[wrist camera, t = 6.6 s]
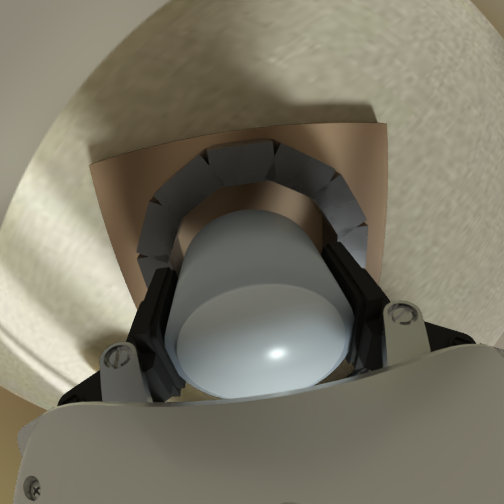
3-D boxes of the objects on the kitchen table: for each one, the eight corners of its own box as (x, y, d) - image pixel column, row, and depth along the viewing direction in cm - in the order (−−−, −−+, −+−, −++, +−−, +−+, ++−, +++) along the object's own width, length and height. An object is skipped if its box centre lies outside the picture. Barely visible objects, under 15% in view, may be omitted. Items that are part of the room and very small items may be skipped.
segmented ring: (346, 132, 12) (368, 136, 10) (344, 305, 18) (356, 330, 15) (131, 162, 12) (111, 172, 10) (180, 329, 18) (175, 356, 15)
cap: (316, 200, 11) (368, 255, 7) (317, 314, 14) (345, 388, 9) (167, 222, 11) (133, 290, 6) (199, 332, 13) (194, 411, 9)
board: (378, 122, 13) (386, 123, 12) (370, 296, 19) (375, 304, 18) (97, 162, 13) (89, 165, 12) (152, 327, 19) (149, 337, 18)
